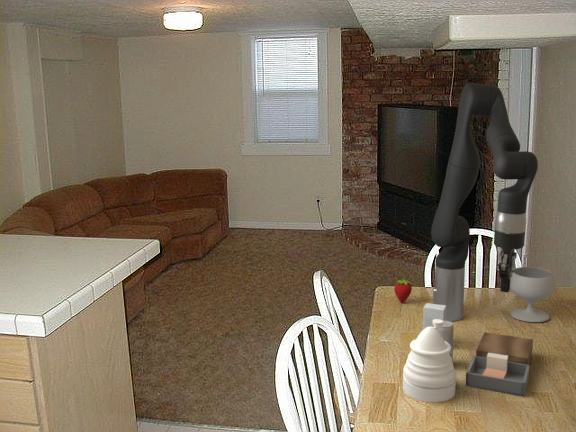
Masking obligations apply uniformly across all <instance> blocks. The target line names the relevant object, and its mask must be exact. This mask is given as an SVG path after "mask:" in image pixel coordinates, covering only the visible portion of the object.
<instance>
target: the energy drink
mask: <svg viewBox="0 0 576 432" xmlns="http://www.w3.org/2000/svg"><path fill="white" fill-rule="evenodd" d="M433 327H434V326H433ZM437 330H438V331H439V333H440V334H441V336H442V337H443V339H444V341H446V342H448V343H449V344H450V346H451V351H450V352H449V354H450V356H451V358H452V363H453V357H454V322H453V321H447V320H443V325H442V327H441V328H439V329H437Z"/></svg>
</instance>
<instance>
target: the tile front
mask: <svg viewBox="0 0 576 432" xmlns="http://www.w3.org/2000/svg"><path fill="white" fill-rule="evenodd" d="M483 375H486V376H491V377H497V378H503V379H506V375H507V372H506V371H501V370H496V369H491V368H486V369H485V371H484V373H483Z"/></svg>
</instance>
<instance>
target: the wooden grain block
mask: <svg viewBox="0 0 576 432" xmlns="http://www.w3.org/2000/svg"><path fill="white" fill-rule="evenodd" d="M533 344H534V339H531V338H525V337H519V336H518V337H517V336H512V335H506V334H505V335H504V334H501V333H500V334H499V333H492V332H486V331H485V332H484V333H483V335H482V336H481V339H480V341H479V344H478V345H477V347H476V350H475V351H476V353H475V356H479V357H485V358H487V354H488V353H494V354H501V355H507V356H508V361H509V362H515V363H521V364H527V365H530V366H531V363H532V358H533V346H534V345H533Z"/></svg>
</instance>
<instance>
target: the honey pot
mask: <svg viewBox="0 0 576 432" xmlns="http://www.w3.org/2000/svg"><path fill="white" fill-rule="evenodd" d="M432 322H433V326H434V327H427V328H425V329H424V330H423V329H422V330H421V331H420V332H419V334H418V336H417V337H416V338H415V339H413V340H412V341H410V344H409V347H410V352H409V353H408V355H407V359H406V362H405V364H404V365H403V373H402V374H403V376H402V390H403V392H404V393H405V394H406V396H408V397H410V398H412V399H414V400H416V401H420V402H424V403H442V402H443V403H444V402H446V401H449V400H450V399H453V397H454V396H455V395H456V386H457V383H456V380H457V375H456V374H457V371H456V369H455V365H454V363H453V362H452V358H451V356H450V354H449V352H450V351H451V346H450V344H449V343H448V342H446V341H444V339H443V337H442V336H441V334H440V333H439V331H438V330H437V329H439V328H441V327H442V325H443V320H440V319H434V320H433V321H432Z"/></svg>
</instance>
